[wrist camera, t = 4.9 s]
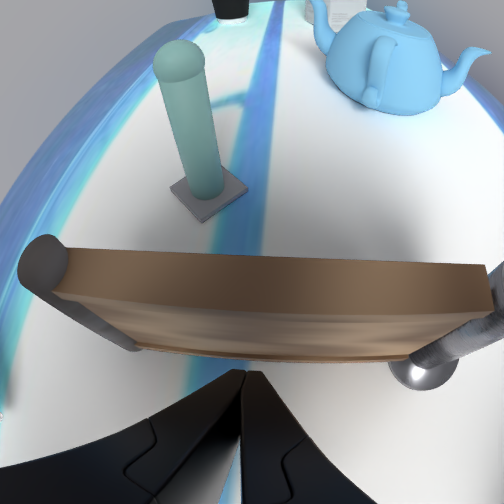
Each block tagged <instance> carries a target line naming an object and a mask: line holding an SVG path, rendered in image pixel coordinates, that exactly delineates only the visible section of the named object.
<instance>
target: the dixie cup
mask: <svg viewBox="0 0 504 504" xmlns="http://www.w3.org/2000/svg"><path fill="white" fill-rule="evenodd" d="M212 2H213V6H214V10H215V14H216V18H218V21H219V23H220V24H238V23H242V22H245V21H246V20H247V15H248V10H249V0H212Z"/></svg>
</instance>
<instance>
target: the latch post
mask: <svg viewBox="0 0 504 504" xmlns="http://www.w3.org/2000/svg"><path fill="white" fill-rule="evenodd" d="M204 66H205V58H204V54H203V52H202V50H201V49H200V48H199V47H198V46H197V45H196V44H195V43H193V42H191V41H188V40H174V41H170V42H168V43H166V44H165V45H163V46H162V47H161V48H160V49H159V50H158V51H157V53H156V55H155V57H154V60H153V71H154V74H155V76H156V77H157V79H158V82H159V85H160V89H161V92H162V96H163V100H164V103H165V107H166V110H167V114H168V117H169V121H170V124H171V128H172V131H173V134H174V138H175V141H176V145H177V148H178V151H179V155H180V158H181V161H182V164H183V168H184V171H185V174H186V177H184V178H183V179H181V180H180V181H178V182H177V183H175V184H174V185H172V186H171V187H170V189H171V191H172V192H173V193H174V194H175V196H176V197H177V198H178V199H179V200H180V201H181V202H182V203H183V204H184V205H185V206H186V207H187V208H188V209H189V210H190V211H191V212H192V214H193V215H194V216H195V217H196V218H197V219H198V220H199V221H200V222H201V223H203V222H204V221H206V220H207V219H208V218H210V217H211V216H213V215H214V214H215V213H217V212H218V211H220V210H221V209H223V208H224V207H225V206H227V205H228V204H230V203H231V202H233V201H234V200H236V199H237V198H239V197H240V196H241V195H243V194H244V193H246V192H247V191H248V187H247V186H245V185H244V184H243V183H242V182H241V181H239V180H238V179H237V178H236V177H235V176H233V175H232V174H231V173H230V172H229V171H227V170H226V169H225V168H224V167H223V166H221V163H220V157H219V152H218V146H217V140H216V135H215V129H214V123H213V117H212V111H211V106H210V100H209V94H208V88H207V82H206V76H205V70H204Z"/></svg>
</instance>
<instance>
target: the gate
mask: <svg viewBox="0 0 504 504" xmlns="http://www.w3.org/2000/svg"><path fill="white" fill-rule="evenodd" d="M17 274H18V279H19V281H20V283H21V284H22V286H24V287H25V288H26V289H28V290H29V291H31V292H32V293H34V294H35V295H36V296H38V297H39V298H41V299H42V300H44V301H45V302H47V303H48V304H50V305H51V306H53V307H54V308H56V309H57V310H59V311H61V312H62V313H64V314H65V315H67V316H68V317H70V318H72V319H73V320H75V321H77V322H78V323H80V324H82V325H83V326H85V327H87V328H88V329H90V330H92V331H93V332H95V333H97V334H99V335H100V336H102V337H104V338H106V339H108V340H109V341H111V342H113V343H115V344H117V345H119V346H120V347H122V348H124V349H126V350H128V351H131V352H137V351H140V350H142V349H149V350H155V351H162V352H170V353H177V354H185V355H194V356H203V357H213V358H224V359H236V360H251V361H268V362H292V363H365V362H389V361H404V360H406V359H408V358H409V356H408V354H410V353H412V352H414V351H416V350H418V349H420V348H422V347H424V346H426V345H427V344H429V343H431V342H433V341H435V340H437V339H438V338H440V337H442V336H444V335H446V334H447V333H449V332H451V331H452V330H454V329H456V328H458V327H459V326H461V325H463V324H464V323H466V322H468V321H469V320H471V319H479V318H484V317H486V316H487V315H489V314H490V313H492V312H493V311H495V310H494V305H493V299H492V294H491V289H490V285H489V280H488V276H487V271H486V267H485V265H481V264H452V263H424V262H397V261H370V260H344V259H319V258H294V257H270V256H246V255H222V254H199V253H176V252H153V251H131V250H109V249H88V248H66V247H65V246H64V245H63V244H62V243H61V242H60V241H59V240H58V239H57V238H56V237H55V236H53V235H50V234H45V235H41V236H39V237H37V238H35V239H34V240H33V241H32V242H30V243H29V245H28V246H27V247H26V248H25V250H24V251H23V253H22V255H21V257H20V260H19V263H18V269H17Z"/></svg>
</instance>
